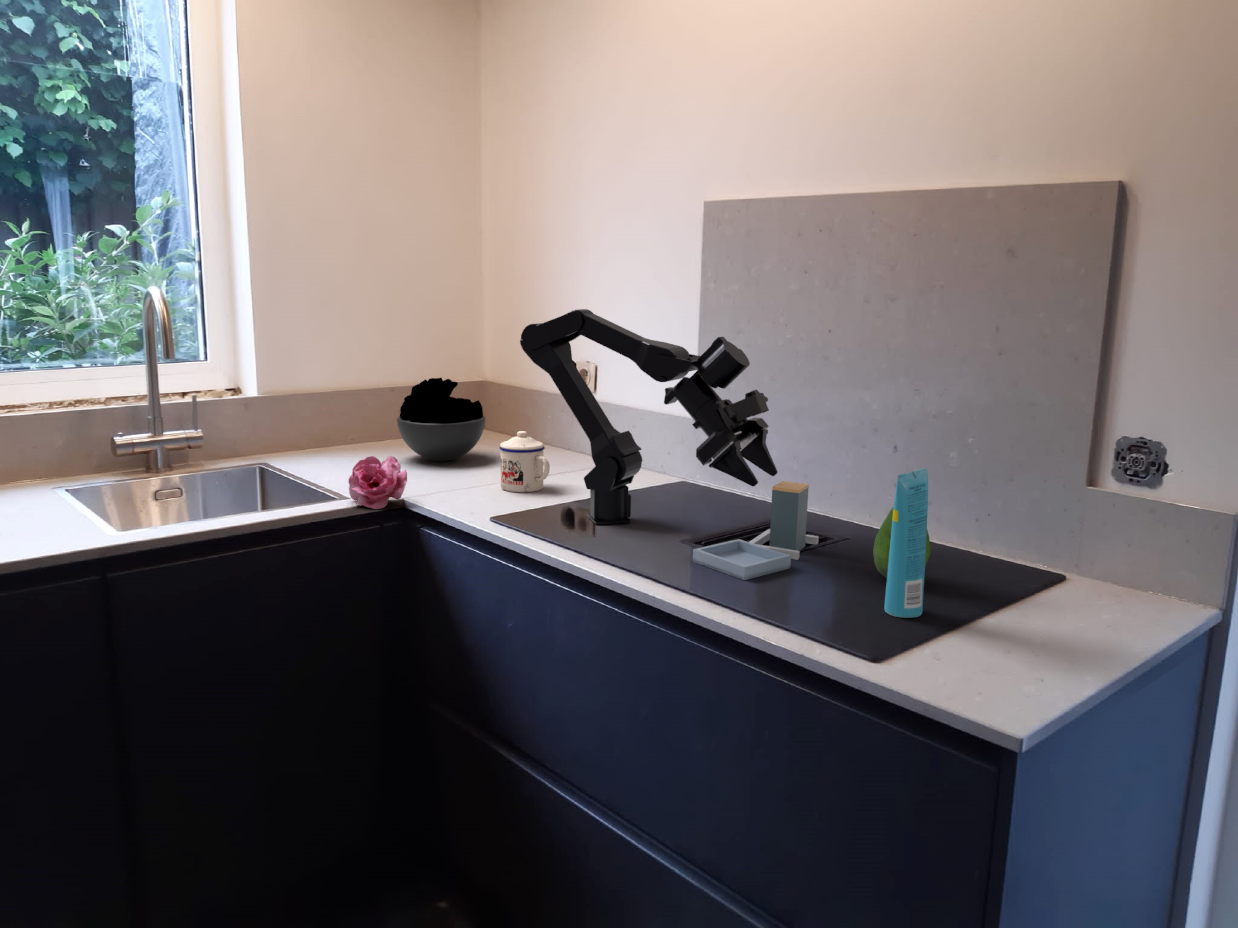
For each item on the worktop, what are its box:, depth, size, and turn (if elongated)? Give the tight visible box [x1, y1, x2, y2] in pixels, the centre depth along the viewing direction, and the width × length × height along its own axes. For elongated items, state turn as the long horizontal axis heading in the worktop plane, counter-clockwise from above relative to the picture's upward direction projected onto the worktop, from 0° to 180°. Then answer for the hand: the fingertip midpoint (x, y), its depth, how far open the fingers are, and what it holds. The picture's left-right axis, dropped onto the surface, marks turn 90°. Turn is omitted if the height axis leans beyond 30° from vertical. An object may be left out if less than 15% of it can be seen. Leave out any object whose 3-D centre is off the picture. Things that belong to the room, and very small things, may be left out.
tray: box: [692, 538, 792, 581], centre depth 146 cm, size 11×10×2 cm
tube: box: [883, 467, 929, 619], centre depth 125 cm, size 7×5×19 cm, turn 140°
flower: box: [348, 455, 408, 510], centre depth 180 cm, size 11×10×10 cm
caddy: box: [768, 480, 810, 552], centre depth 155 cm, size 4×5×10 cm
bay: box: [749, 528, 819, 561], centre depth 156 cm, size 9×11×1 cm
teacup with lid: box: [499, 430, 551, 493], centre depth 193 cm, size 12×9×12 cm
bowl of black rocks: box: [396, 377, 486, 462], centre depth 220 cm, size 20×20×19 cm
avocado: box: [872, 506, 931, 579], centre depth 139 cm, size 8×8×12 cm
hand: (766, 479), depth 156 cm, fingers open, 9 cm apart
